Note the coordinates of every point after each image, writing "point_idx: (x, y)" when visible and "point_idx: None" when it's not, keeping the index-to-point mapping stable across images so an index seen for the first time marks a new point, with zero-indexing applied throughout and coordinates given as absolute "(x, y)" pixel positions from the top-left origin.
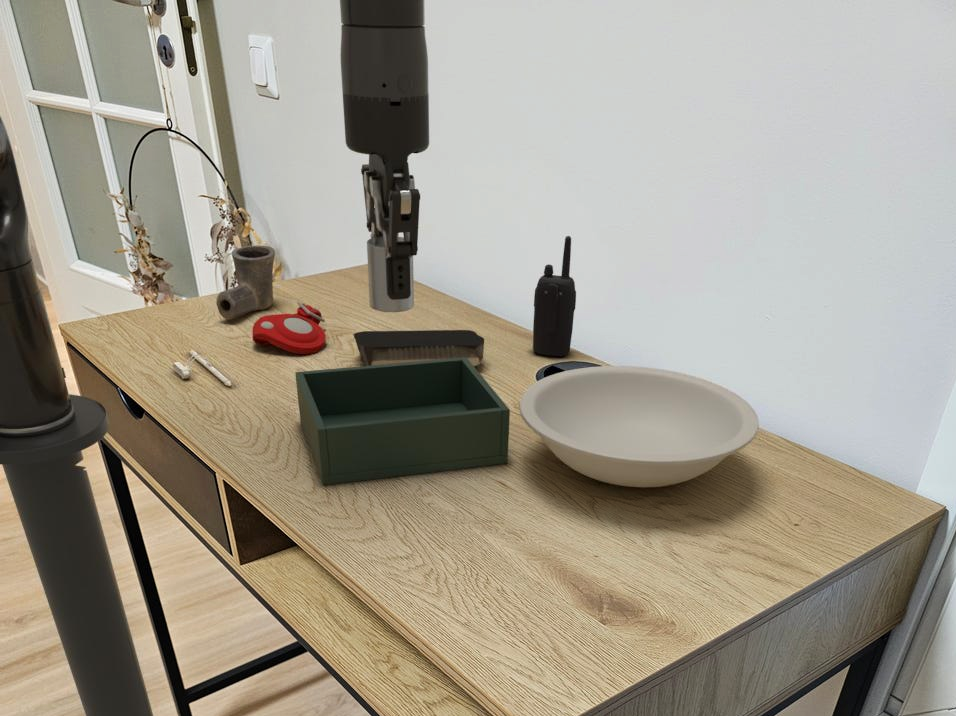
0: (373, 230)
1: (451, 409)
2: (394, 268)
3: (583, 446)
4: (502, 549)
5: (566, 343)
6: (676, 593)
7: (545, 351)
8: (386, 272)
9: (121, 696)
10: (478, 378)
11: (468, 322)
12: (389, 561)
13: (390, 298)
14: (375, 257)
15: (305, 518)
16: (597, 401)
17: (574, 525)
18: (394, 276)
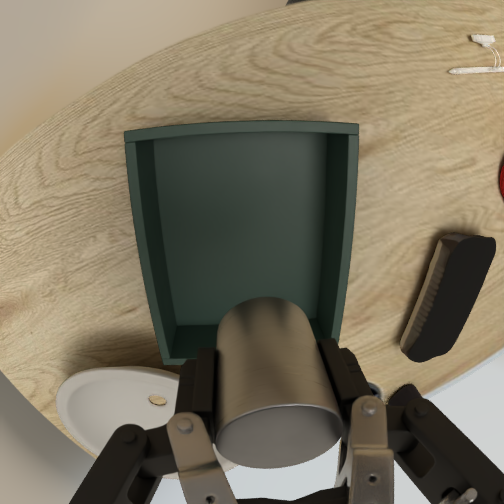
0: (359, 427)
1: (299, 305)
2: (176, 405)
3: (69, 386)
4: (30, 278)
5: None
6: (7, 353)
7: (398, 394)
8: (206, 384)
9: (294, 2)
10: None
11: (487, 340)
12: (12, 188)
13: (198, 347)
14: (234, 392)
15: (81, 110)
16: None
17: (66, 337)
18: (177, 391)
